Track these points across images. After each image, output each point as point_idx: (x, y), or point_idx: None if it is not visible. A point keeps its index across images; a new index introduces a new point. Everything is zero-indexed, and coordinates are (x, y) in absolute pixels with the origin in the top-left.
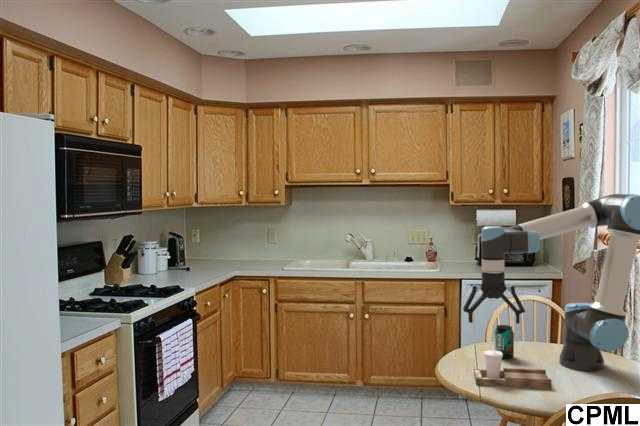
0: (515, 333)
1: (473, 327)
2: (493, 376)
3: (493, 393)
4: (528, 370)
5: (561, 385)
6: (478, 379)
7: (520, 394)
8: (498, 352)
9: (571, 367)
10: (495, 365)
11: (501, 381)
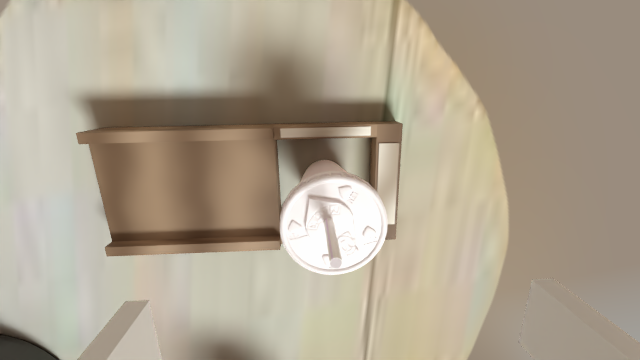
0: (133, 304)
1: (596, 316)
2: (327, 162)
3: (337, 28)
4: (178, 242)
5: (64, 172)
6: (392, 124)
7: (227, 37)
8: (302, 244)
9: (31, 348)
10: (322, 170)
11: (297, 125)
